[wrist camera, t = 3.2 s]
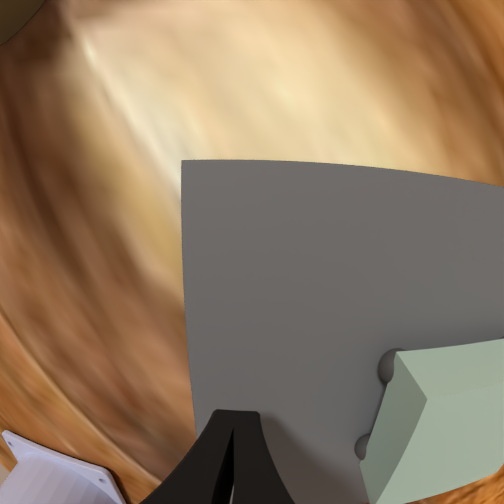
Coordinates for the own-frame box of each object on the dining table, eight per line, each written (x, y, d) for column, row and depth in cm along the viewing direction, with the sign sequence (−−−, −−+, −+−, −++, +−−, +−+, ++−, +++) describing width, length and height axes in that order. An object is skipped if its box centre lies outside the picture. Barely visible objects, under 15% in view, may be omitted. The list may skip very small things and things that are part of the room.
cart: (472, 426, 10) (501, 469, 7) (348, 450, 11) (363, 511, 7) (514, 325, 9) (562, 362, 6) (378, 338, 9) (417, 400, 6)
